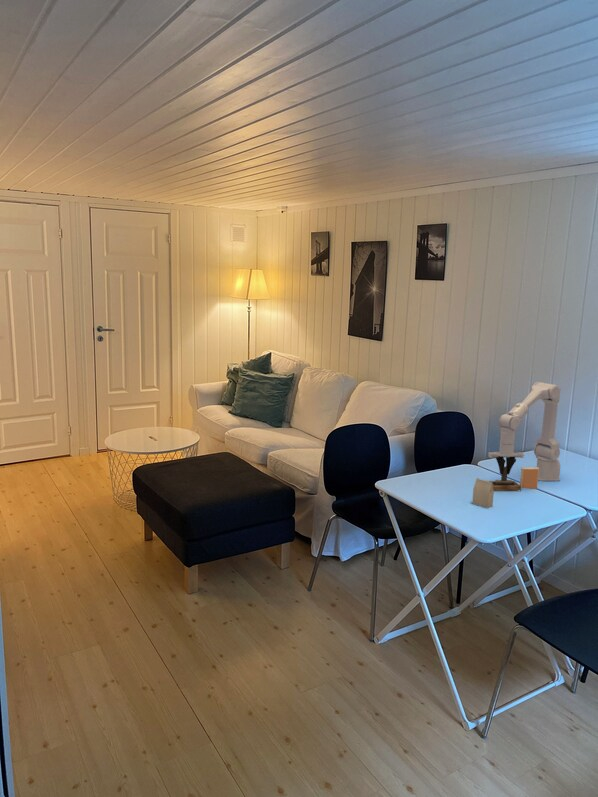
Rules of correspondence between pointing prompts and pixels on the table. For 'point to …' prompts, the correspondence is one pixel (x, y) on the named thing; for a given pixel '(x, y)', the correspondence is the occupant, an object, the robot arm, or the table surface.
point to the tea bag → (483, 493)
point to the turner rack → (506, 487)
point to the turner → (504, 479)
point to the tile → (529, 477)
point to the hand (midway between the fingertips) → (504, 473)
